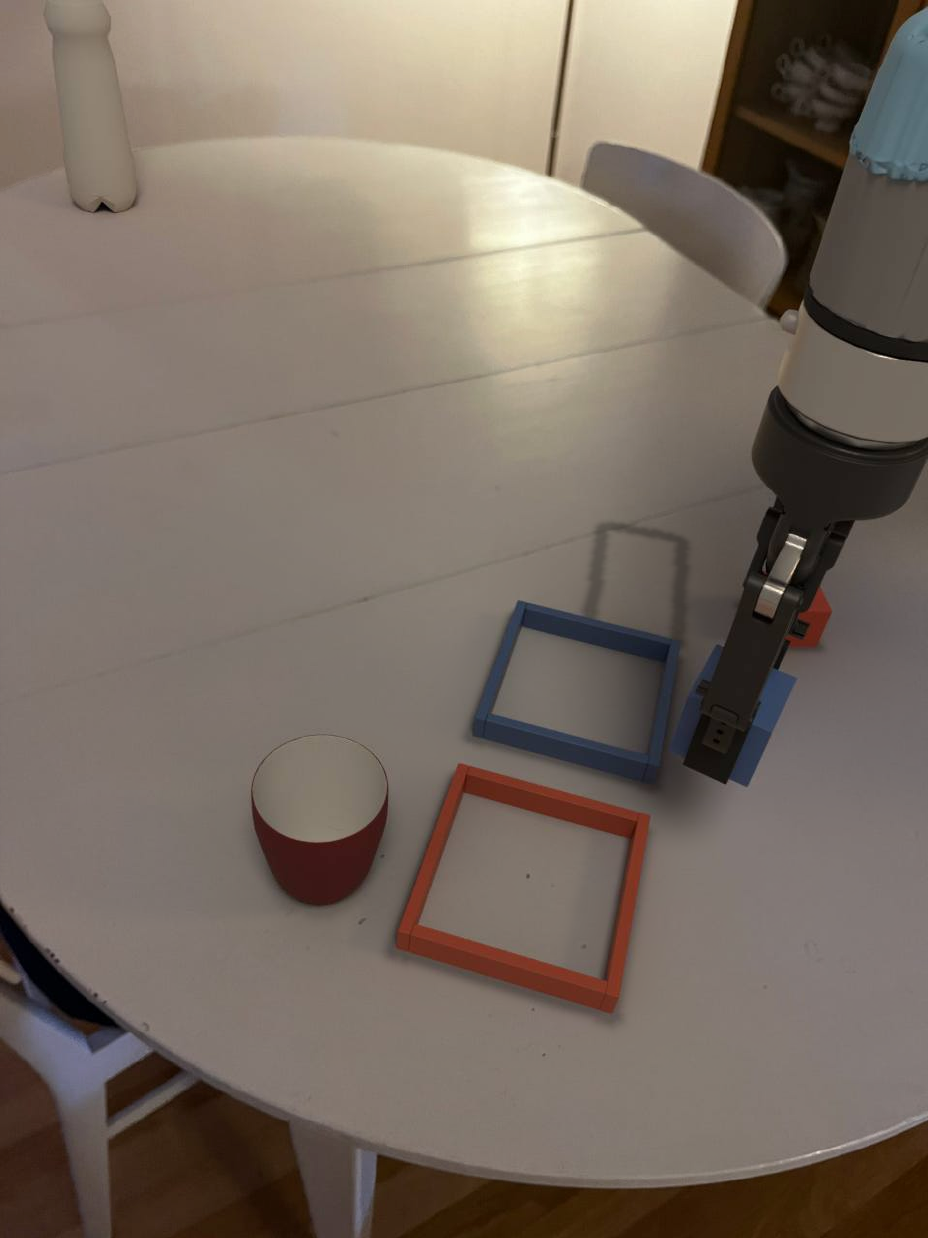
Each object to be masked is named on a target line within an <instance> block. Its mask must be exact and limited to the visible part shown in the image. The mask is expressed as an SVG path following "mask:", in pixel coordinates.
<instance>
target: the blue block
mask: <svg viewBox="0 0 928 1238" xmlns="http://www.w3.org/2000/svg"><path fill="white" fill-rule="evenodd" d="M723 648H724V645H720V644H718V643H716V644H715V646H714V647H713V648H712V651H711V653H710V654H709V657H708V658H707V660H706V662H705V663H704V665H703V667H702V668H701V670H700V673H699V674H698V676H697V678H696V680H695V681H694V683H693V684H692V686H691V688H690V691H689V692H688V694H687V696H686V699H685V702H684V704H683V708H682V711H681V713H680V715H679V718H678V722H677V724H676V727H675V729H674V733H673V736H672V739H671V742H670V744H669V747H668V752H670V753H672V754H674V755H676V756H678V757H681V758H683V759H685V757H686V754H687V751H688V749H689V746H690V743H691V741H692V738H693V735H694V733H695V730H696V727H697V724H698V722H699V719H700V716H701V714H702V713H701V712H700V708H701V705H700V703H701V701H702V699H703V696H700V695H698V694H696V693H695V691H696V688H697V687H698V685H699V683H700V682H701V681H702V679H705V680H707V681H709V682H711V680H712V678H713V675H714V672H715V669H716V667H717V664H718V661H719V659H720V656H721V653H722V651H723ZM797 679H798V678H797V677H796V676H794V675H791V674H789V673H786V672H784V671H781V670H780V669H779V670H777V669H774V668H773V669H772V671H771V674H770V676H769V678H768V680H767V683H766V685H765V687H764V690H763V692H762V694H761V697H760V699H759V701H760V702H761V705H760V707H759V709H758V712H757V714H756V716H755V719H754V721H753V723H752V726H751V728H750V730H749V733H748V735H747V738H746V740H745V742H744V745H743V747H742V749H741V752H740V754H739V756H738V759H737V761H736V763H735V766H734V768H733V770H732V773H731V775H730V777H729V779H728V780H729V781H732V782H734V783H736V784H739V785H740V786H743V787H745V788H748V787H749V785H750V784H751V781H752V779H753V777H754V775H755V772H756V770H757V768H758V765H759V764H760V761H761V759H762V757H763V754H764V753H765V750H766V748H767V746H768V744H769V741H770V739H771V737H772V735H773V732H774V730H775V729H776V726H777V724H778V722H779V720H780V717H781V716H782V713H783V711H784V708H785V706H786V704H787V703H788V702H787V701H788V700H789V697H790V695H791V693H792V691H793V689H794V687H795V684H796V682H797Z"/></svg>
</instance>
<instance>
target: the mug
mask: <svg viewBox="0 0 928 1238" xmlns="http://www.w3.org/2000/svg"><path fill="white" fill-rule="evenodd" d="M250 794H251V796H250V798H251V799H250V800H251V817H252V822H253V828H254V831H255V834H256V837H257V840H258V842H259V845H260V848H261V850H262V853H263V855H264V857H265V860H266V862H267V865H268V867H269V869H270V872H271V874H272V876H273V877H274V879H275V881H276V882H277V884H278V885H279V886H280V887H281V889H282V890H283V891H285V892H286V893H287V894H288V895H290V896H291V897H292V898H294V899H296V900H298V901H300V902H302V903H304V904H307V905H310V906H311V905H312V906H328V905H332V904H336V903H338V902H340V901H341V900H344V899H345V898H347V897H348V896H350V895H351V894H352V893H354V892H355V891H356V890H357V889H358V888H359V887H360V886H361V885H362V883H363V882H364V881H365V879H366V878H367V876H368V874H369V872H370V870H371V868H372V865H373V863H374V860H375V857H376V855H377V852H378V849H379V846H380V843H381V842H382V837H383V835H384V832H385V829H386V828H385V827H386V824H387V819H388V813H389V811H388V810H389V781H388V776H387V772H386V770H385V768H384V766H383V764H382V763H381V761H380V760H379V758H378V757H377V756H376V755H375V754H374V752H372V751H371V750H370V749H368V748H367V747H366V746H364V745H363V744H361V743H359V742H357V741H355V740H353V739H351V738H347V737H343V736H340V735H335V734H311V735H305V736H300V737H297V738H294V739H291V740H289V741H287V742H284V743H283V744H280V745H279V746H278V747H276V748H274V749H273V750H272V751H271V752H270V753H268V754H267V755H266V756H265V758H264V759H262V761H261V762H260V764H259V765H258V767H257V768H256V770H255V772H254V775H253V778H252V783H251V789H250Z"/></svg>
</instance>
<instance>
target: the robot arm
mask: <svg viewBox="0 0 928 1238" xmlns="http://www.w3.org/2000/svg"><path fill="white" fill-rule="evenodd" d="M848 143H849V149H848V150H849V151H848V156H847V158H846V159H847V160H846V162H845V165H844V168H843V172H842V174H841V178H840V182H839V184H838V187H837V191H836V193H835V195H834V196H835V197H834V199H833V202H832V205H831V209H830V211H829V214H828V217H827V221H826V224H825V227H824V230H823V233H822V238H821V240H820V244H819V246H818V249H817V253H816V256H815V259H814V261H813V265H812V267H811V271H810V274H809V279H808V282H807V285H806V287H805V290H804V293H803V298H802V301H801V303H800V306H799V309H798V310H795V309H790V308H789V309H787V310H786V311H785V312H784V313H783V314H782V316H781V317H780V319H779V328H781V330H782V331H784V332H786V333H788V334H791V335H793V337H792V338H791V340H790V341H788V343H787V345H786V349H785V352H784V355H783V358H782V361H781V364H780V367H779V370H778V373H777V377H776V380H777V385H776V386H775V387H774V388H773V389H772V390H771V391H770V393H769V395H768V398H767V401H766V405H765V407H764V410H763V413H762V416H761V420H760V422H759V425H758V428H757V432H756V434H755V438H754V440H753V444H752V447H751V451H750V452H751V453H750V454H751V455H750V456H751V463H752V466H753V469H754V471H755V474H756V475H757V476H758V478H759V480H760V481H761V483H763V484H764V485H765V486H766V487H767V489H769V490H770V491H771V492H772V493H774V495H775V496H776V497H775V500H774V503H773V506H768V508H767V509H766V511H765V514H764V516H763V518H762V520H761V524H760V526H759V528H758V530H757V532H756V533H757V534H756V543H757V547H756V550H755V552H754V555H753V558H752V560H751V563H750V565H749V568H748V571H747V573H746V575H745V578H744V580H743V583H742V587H743V588H742V589H743V590H742V594H741V596H740V600H739V603H738V607H737V610H736V613H735V615H734V618H733V621H732V624H731V626H730V629H729V632H728V635H727V637H726V639H725V642H724V645H723V647H724V648H723V651H722V653H721V656H720V659H719V661H718V664H717V667H716V669H715V672H714V675H713V678H712V680H711V682H709V681H707V680H705V679H702V681H701V682H700V683H699V685H698V687H697V688H696V691H695V693H696V694H698V695H700V696H703V699H702V701H701V703H700V705H701V708H700V712H701V713H702V714H701V716H700V719H699V722H698V724H697V727H696V730H695V733H694V735H693V738H692V741H691V743H690V746H689V749H688V751H687V754H686V757H685V758H684V759H683V763H682V766H684V767H687V768H689V769H690V770H693V771H695V772H698V773H700V774H701V775H704V776H706V777H708V778H711V779H712V780H715V781H717V782H719V783H721V784H723V785H726V786H727V783H728V781H729V780H730V779H729V777H730V775H731V773H732V770H733V768H734V766H735V763H736V761H737V759H738V756H739V754H740V752H741V749H742V747H743V745H744V742H745V740H746V738H747V735H748V733H749V730H750V728H751V726H752V723H753V721H754V719H755V716H756V714H757V712H758V709H759V707H760V705H761V702H760V701H759V699H760V697H761V694H762V692H763V690H764V687H765V685H766V683H767V680H768V678H769V676H770V674H771V671H772V669H773V668H774V669H777V670H779V671H780V668H781V665H782V663H783V660H784V658H785V656H786V654H787V650H788V649H789V648H790V647H789V644H790V642H791V641H790V640H787V639H786V637H787V634H788V635H790V636H793V637H795V638H798V639H800V640H802V641H803V639H804V637H805V635H806V633H807V631H808V628H809V626H810V623H808V622H805V621H803V620H800V619H798V617H799V615H800V613H804V612H806V611H808V609H809V608H810V606H811V604H812V602H813V600H814V598H815V596H816V594H817V591H818V589H819V587H821V585H822V583H823V580H824V578H825V575H826V573H827V571H830V570H831V569H832V568H834V566H835V565H836V563H837V561H838V559H839V557H840V554H841V552H842V551H843V548H844V546H845V544H846V541H847V539H848V537H849V535H850V533H851V531H852V529H853V527H854V524H855V523H856V522H861V521H872V520H877V519H881V518H885V517H887V516H889V515H892V514H894V513H895V512H897V511H898V510H900V509H901V508H902V507H903V506H904V505H906V503H907V502H908V501H909V499H910V497H911V496H912V493H913V491H914V489H915V487H916V485H917V482H918V480H919V479H920V477H921V474H922V472H923V471H924V468H925V466H926V463H928V5H927V6H926V7H925V8H923V9H922V10H920V11H918V12H917V13H915V14H913V15H912V16H910V17H909V18H907V20H906V21H904V22H903V24H901V26H899V28H898V29H897V31H896V33H895V35H894V37H893V38H892V40H891V42H890V44H889V47H888V49H887V51H886V54H885V56H884V58H883V61H882V63H881V65H880V67H879V68H878V70H877V73H876V75H875V78H874V80H873V84H872V86H871V89H870V90H869V94H868V97H867V99H866V103H865V104H864V107H863V109H862V112H861V115H860V117H859V120H858V122H857V123H856V124H855V125H854V128H853V130H852V133H851V136H850V138H849V142H848ZM764 565H765V566H764ZM764 568H765V569H764ZM763 571H765V572H766V574H765V573H764V572H763Z"/></svg>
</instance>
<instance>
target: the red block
mask: <svg viewBox="0 0 928 1238" xmlns="http://www.w3.org/2000/svg"><path fill="white" fill-rule="evenodd" d="M763 572H764V573H765V574H766V572H765V570H763ZM832 613H833V610H832V607H831V606H830V603H829V602H828V599H827V597H826V596H825V594H824V591H823V589H822V587H821V586H820V587H819V589H818V591H817V594H816V596H815V598H814V600H813V602H812V604H811V606H810V608H809V609H808V611H806V612H804V613H800V615H799V617H798V619H800V620H803V621H805V622H808V623H810V626H809V628H808V631H807V633H806V635H805V637H804V639H803V641H802V640H800V639H798V638H795V637H793V636H790V635H788V634H787V637H786V639H787V640H790V641H791V642H790V644H789V647H788V648H817V647H818V645H819V642H820V640H821V638H822V635H823V633H824V631H825V629H826V626H827V624H828V622H829V620H830V618H831V615H832Z"/></svg>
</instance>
